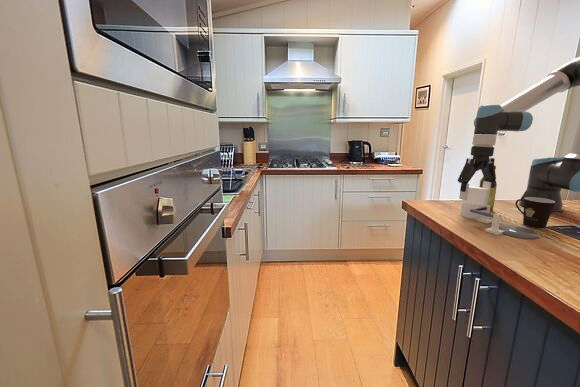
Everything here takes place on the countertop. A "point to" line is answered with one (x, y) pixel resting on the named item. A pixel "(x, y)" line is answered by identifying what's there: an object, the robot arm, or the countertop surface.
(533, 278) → the countertop surface
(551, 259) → the countertop surface
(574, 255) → the countertop surface
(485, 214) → the bent wire
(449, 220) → the countertop surface
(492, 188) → the sauce bottle
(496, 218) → the wire posts
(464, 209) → the base with upright slab
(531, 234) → the coaster
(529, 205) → the coffee mug
